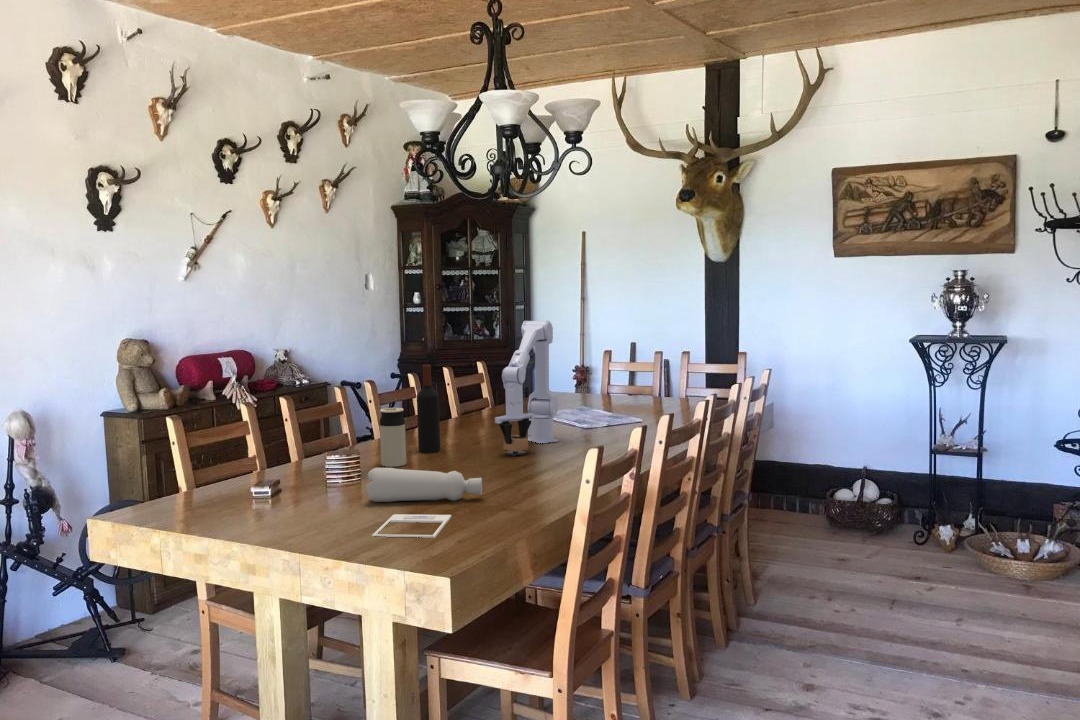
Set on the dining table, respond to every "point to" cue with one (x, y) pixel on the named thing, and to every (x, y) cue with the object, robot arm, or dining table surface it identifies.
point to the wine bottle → (428, 415)
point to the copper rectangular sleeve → (516, 443)
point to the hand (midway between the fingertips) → (515, 442)
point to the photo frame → (417, 518)
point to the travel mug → (392, 437)
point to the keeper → (515, 453)
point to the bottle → (418, 485)
